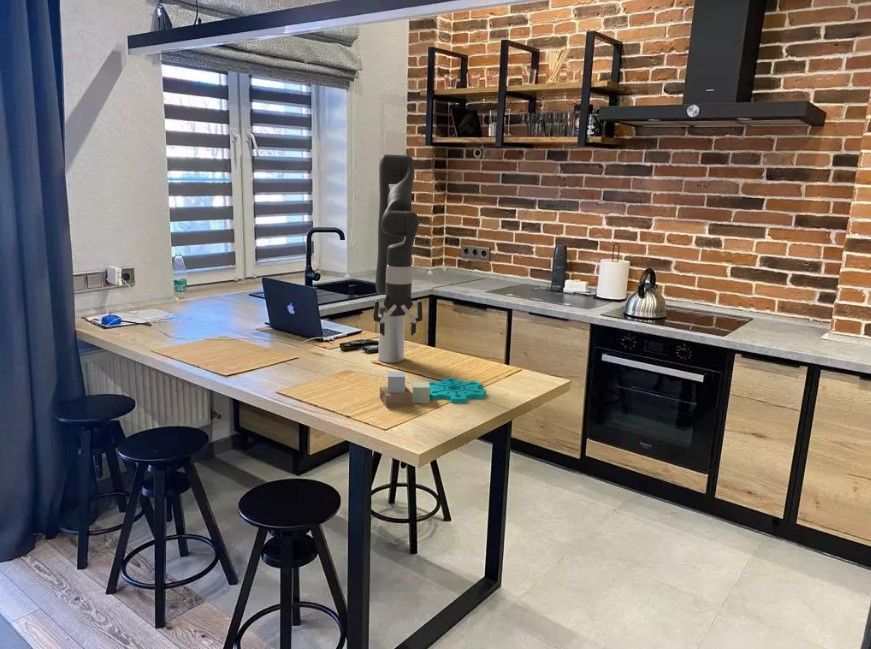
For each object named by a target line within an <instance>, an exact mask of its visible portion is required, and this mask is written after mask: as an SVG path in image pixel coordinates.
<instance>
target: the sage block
mask: <svg viewBox="0 0 871 649" xmlns="http://www.w3.org/2000/svg"><path fill="white" fill-rule="evenodd" d="M411 388H412V389H411V392H412V394H413V398H412V404H430V400H431V398H430V385H429V382H427V381H412V387H411Z"/></svg>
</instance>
